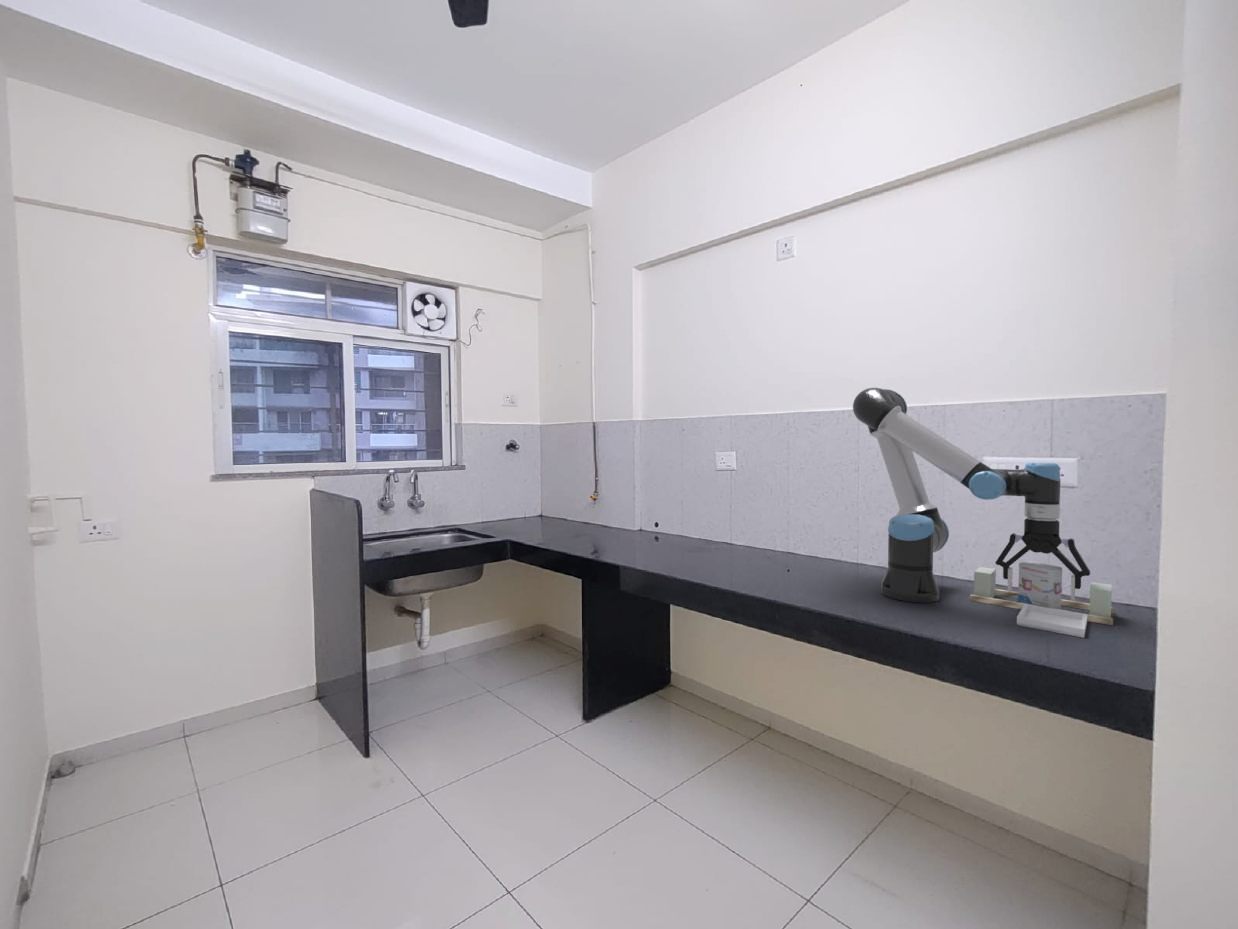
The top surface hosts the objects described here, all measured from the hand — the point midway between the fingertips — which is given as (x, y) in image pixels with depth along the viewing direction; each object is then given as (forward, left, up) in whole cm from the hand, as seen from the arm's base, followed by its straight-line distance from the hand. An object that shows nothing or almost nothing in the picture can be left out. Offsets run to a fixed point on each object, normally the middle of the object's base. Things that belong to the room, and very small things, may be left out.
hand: (1040, 595), depth 145 cm
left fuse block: (-13, 0, -3) cm, 13 cm away
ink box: (0, 0, -3) cm, 3 cm away
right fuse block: (+12, 0, -3) cm, 13 cm away
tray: (+4, -15, -3) cm, 16 cm away
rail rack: (0, 0, -3) cm, 3 cm away
